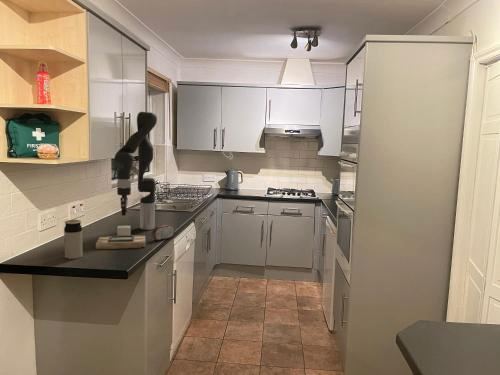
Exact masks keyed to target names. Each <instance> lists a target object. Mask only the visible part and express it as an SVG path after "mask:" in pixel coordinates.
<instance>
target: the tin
mask: <svg viewBox="0 0 500 375" xmlns="http://www.w3.org/2000/svg"><path fill="white" fill-rule="evenodd" d="M151 235H152V238H153V240H157V241H162V240H161V239H163V240H167V239H171V238H172V237H173V236H174V235H175V227H174V225H171V224H170V223H166V224H162V225H161V224H160V225H157V226H156V225H155V228H154V229H152V232H151Z"/></svg>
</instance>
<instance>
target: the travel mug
mask: <svg viewBox="0 0 500 375" xmlns="http://www.w3.org/2000/svg"><path fill="white" fill-rule="evenodd" d="M81 223H82V220H80V219H69V220H67V219H66V220H65V221H64V225H65V226H64V228H63V232H64V233H63V234H64V236H63V237H64V258H65V259H67V258H68V260H76V259H80V258H83V256H84V255H83V227H82V225H81Z"/></svg>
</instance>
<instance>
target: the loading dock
mask: <svg viewBox="0 0 500 375" xmlns="http://www.w3.org/2000/svg"><path fill="white" fill-rule="evenodd" d="M141 247H146V235H144V234H143V235H135V234H130V235H117V234H116V235H109V236H106V235H104V236H99V238H98V239H97V241H96V242H95V249H96V250H106V249H107V250H109V249H111V250H113V249H141Z"/></svg>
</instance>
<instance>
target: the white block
mask: <svg viewBox="0 0 500 375" xmlns="http://www.w3.org/2000/svg"><path fill="white" fill-rule="evenodd" d="M116 232H117V233H116V235H131V225H118V226H117V228H116Z"/></svg>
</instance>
